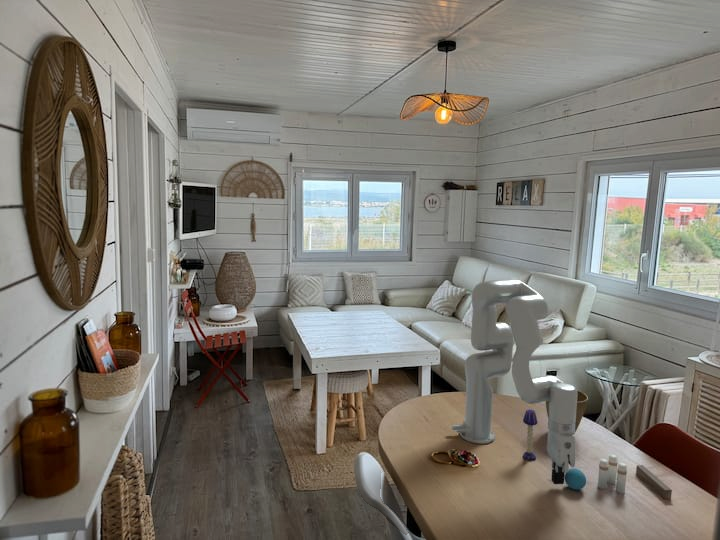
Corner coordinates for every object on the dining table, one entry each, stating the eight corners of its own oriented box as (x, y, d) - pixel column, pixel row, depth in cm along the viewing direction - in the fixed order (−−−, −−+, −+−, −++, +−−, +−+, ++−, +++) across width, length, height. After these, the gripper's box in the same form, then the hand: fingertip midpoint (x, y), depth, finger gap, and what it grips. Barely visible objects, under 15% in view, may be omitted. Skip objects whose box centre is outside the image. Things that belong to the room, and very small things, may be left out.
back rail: (664, 499, 146) (665, 490, 146) (635, 474, 160) (636, 465, 160) (670, 499, 146) (671, 489, 146) (641, 473, 160) (642, 465, 160)
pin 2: (618, 493, 149) (620, 467, 148) (613, 489, 151) (616, 462, 150) (626, 493, 149) (629, 466, 148) (621, 488, 151) (624, 462, 150)
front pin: (600, 489, 151) (602, 462, 150) (595, 484, 154) (598, 458, 153) (608, 489, 151) (610, 462, 150) (603, 484, 154) (605, 458, 153)
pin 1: (609, 484, 154) (611, 458, 153) (605, 480, 156) (607, 454, 155) (617, 484, 154) (619, 458, 153) (612, 479, 156) (615, 454, 155)
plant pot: (541, 439, 183) (544, 397, 181) (542, 423, 197) (545, 384, 195) (586, 446, 178) (589, 404, 176) (583, 429, 192) (586, 389, 190)
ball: (576, 472, 147) (593, 483, 148) (570, 460, 153) (586, 470, 153) (563, 487, 149) (580, 497, 149) (558, 475, 155) (574, 485, 155)
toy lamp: (528, 462, 166) (531, 414, 164) (517, 456, 170) (520, 409, 168) (538, 459, 169) (541, 412, 166) (528, 453, 173) (531, 407, 170)
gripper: (585, 436, 142) (581, 496, 144) (563, 414, 157) (559, 469, 159) (559, 436, 141) (555, 496, 144) (539, 414, 156) (536, 469, 159)
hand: (557, 482), depth 151 cm, fingers closed
